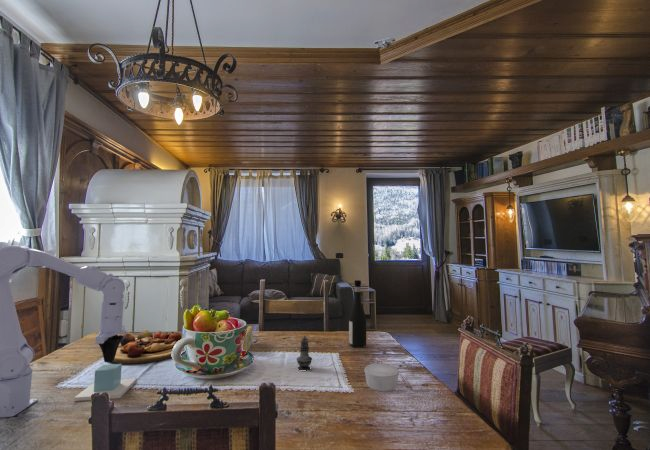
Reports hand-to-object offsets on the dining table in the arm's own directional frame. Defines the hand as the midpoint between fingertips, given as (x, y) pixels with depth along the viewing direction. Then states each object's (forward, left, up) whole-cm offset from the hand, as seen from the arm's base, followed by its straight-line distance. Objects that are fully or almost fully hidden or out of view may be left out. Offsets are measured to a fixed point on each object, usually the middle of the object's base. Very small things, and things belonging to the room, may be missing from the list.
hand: (109, 361), depth 99 cm
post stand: (0, 0, -9) cm, 9 cm away
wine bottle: (+34, -90, -9) cm, 97 cm away
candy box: (+37, -40, -9) cm, 55 cm away
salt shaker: (+9, -62, -9) cm, 63 cm away
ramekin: (-10, -85, -9) cm, 86 cm away
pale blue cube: (0, 0, -8) cm, 8 cm away
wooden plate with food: (+39, +1, -10) cm, 40 cm away
